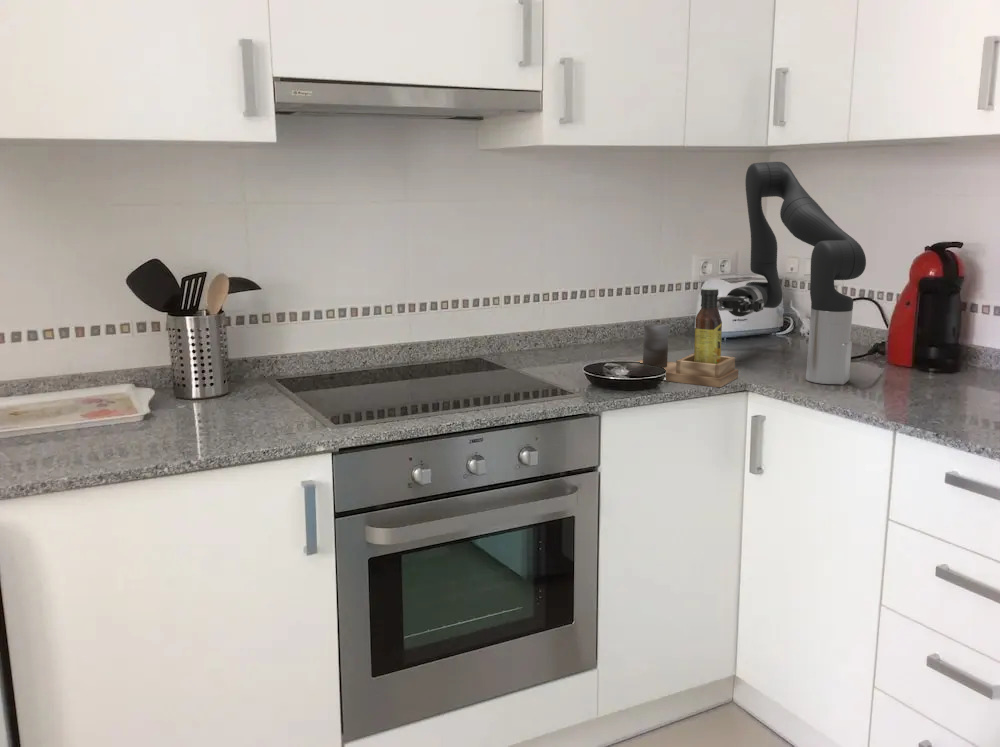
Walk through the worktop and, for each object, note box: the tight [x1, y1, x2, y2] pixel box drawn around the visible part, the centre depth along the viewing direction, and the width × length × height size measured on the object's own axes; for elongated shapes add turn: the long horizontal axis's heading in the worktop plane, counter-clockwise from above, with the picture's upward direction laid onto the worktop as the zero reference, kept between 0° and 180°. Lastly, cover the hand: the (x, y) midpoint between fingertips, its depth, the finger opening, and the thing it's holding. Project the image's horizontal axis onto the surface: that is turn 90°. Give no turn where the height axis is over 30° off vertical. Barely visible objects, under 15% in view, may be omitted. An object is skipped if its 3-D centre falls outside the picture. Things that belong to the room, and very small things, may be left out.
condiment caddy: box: [636, 323, 739, 388], centre depth 216 cm, size 25×13×12 cm, turn 58°
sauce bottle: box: [693, 287, 723, 364], centre depth 212 cm, size 7×6×20 cm
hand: (724, 307), depth 221 cm, fingers open, 8 cm apart
